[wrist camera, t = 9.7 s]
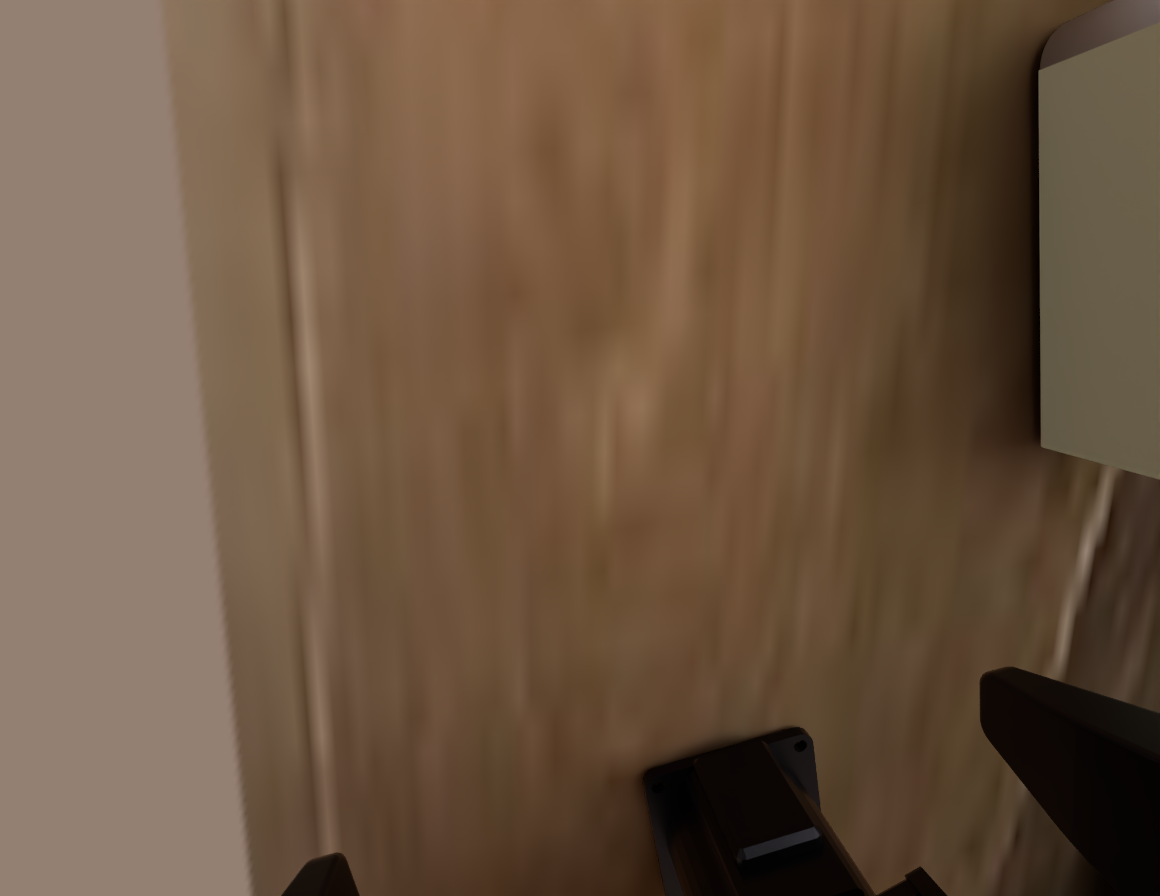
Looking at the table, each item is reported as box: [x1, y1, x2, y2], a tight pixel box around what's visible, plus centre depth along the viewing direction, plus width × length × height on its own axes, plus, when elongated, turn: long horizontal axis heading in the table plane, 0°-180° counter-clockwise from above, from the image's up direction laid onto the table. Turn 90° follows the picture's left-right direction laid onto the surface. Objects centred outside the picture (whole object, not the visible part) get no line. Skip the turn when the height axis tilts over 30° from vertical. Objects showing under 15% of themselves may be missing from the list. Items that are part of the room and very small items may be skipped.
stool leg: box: [1038, 0, 1160, 480], centre depth 18 cm, size 13×2×4 cm, turn 12°
